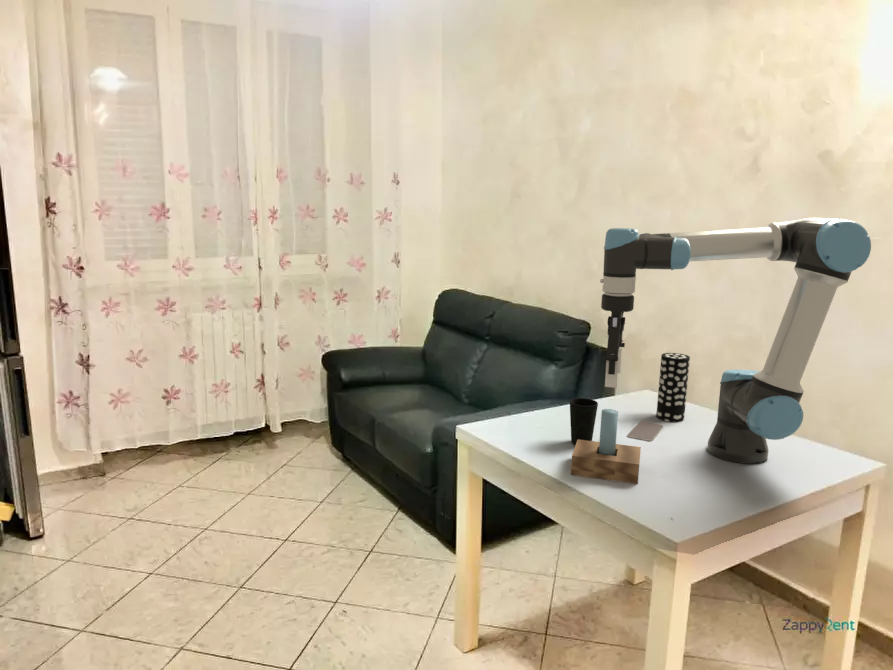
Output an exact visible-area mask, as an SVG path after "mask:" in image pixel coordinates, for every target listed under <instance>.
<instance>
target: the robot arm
mask: <svg viewBox="0 0 893 670" xmlns="http://www.w3.org/2000/svg"><path fill="white" fill-rule="evenodd" d="M603 250H604V251H603V253H604V255H603V273H602V275H603V276H602V278H601V279H600V281H599V282H600V284H602V290H601V291H602V292H603V293H602V294H601V302H600V303H601V304H600V307H601V309H602V310H603V311H605V312H611V315H610V316H608V317H607V322H606V323H607V335H608V336H607V349H606V355H604V356H603V361H606V363H605V377H604V378H605V379H604V388H614V389H615V388H616V389H617V388H618V374H621V368H622V367H621V366H622V350H623V348H625V345H626V343H625V342H624V341H623V333H624V331H625V329H624V328H625V324H626V316H624V313H627V312H628V313H629V312H632V311H634V307H635V296H634V295H633V294H634V293H635V292H636V280H637V270H671V271H673V270H683V269H686V268H687V266H688V265H689V263H690V262H704V261H722V260H723V261H725V260H742V259H743V260H744V259H762V258H766V259H767V260H769V261H771V262H777V261H783V262H792V263H795V265H794V268H793V270H794V271H795V273H796V275H797V279H796V282H795V284H794V287H793V290H792V292H791V295H790V297H789V299H788V303H787V305H786V309H785V311H784V313H783V316H782V319H781V321H780V322H779V323H780V324H779V326H778V329H777V332H776V335H775V337H774V339H773V342H772V345H771V346H770V350H769V353H768V355H767V358H766V360H765V363H764V366H763V368H762V370H752V369H729V370H728V369H727V370H725V371H723V372H722V375H721V379H720V383H719V385H720V387H719V396H718V405H717V406H718V407H717V408H718V409H717V418H716V419H717V420H716V423H715V425H714V428H713V430H712V431H711V434H710V436H709V438H708V440H707V446H706V447H707V451H708V452H709V453H710V454H711V455H712V456H715V457H717V458H719V459H722V460H725V461H729V462H734V463H740V464H741V463H742V464H757V463H756V462H760V463H763V462H762V461H764V460H766V459H767V460H768V456H769V446H768V441H767V440H772V441H779V440H783V439H785V438H788V437H790V436H792V435H793V434H795V433H796V432H797V431H798V430H799V428H800V427H801V425H802V423H803V422H804V421H803V420H804V410H803V408H802V406H801V404H800V402H801V399H802V397H803V395H804V392H805V391H804V389H803V387H802V385H801V381H802V378H803V375H804V373H805V370H806V368H807V366H808V363H809V360H810V357H811V355H812V352H813V350H814V348H815V345H816V343H817V340H818V337H819V335H820V332H821V330H822V329H823V325H824V322H825V320H826V317H827V315H828V312H829V310H830V306H831V305H832V302H833V299H834V297H835V294H836V293H837V292H836V291H837V289H838V288H840V287H841V286H843V285H845V284H847V283H848V281H849V279H850V277H851V275H852V272H854V271H856V270H857V269H859V268H861V267H862V266H863V265H865V263H866V262H867V261H868V258H869V257H870V254H871V251H872V240H871V237H870V235H869V234H868V231H867V230H866V229H865V227H863V225H861V224H860V223H858V222H857V221H854V220H849V219H846V218H840V217H839V218H838V217H837V218H834V217H833V218H832V217H831V218H830V217H825V218H824V217H807V218H801V219H795V220H789V221H779V222H769V224H768V225H766V226H765V227H748V228H747V227H746V228H736V229H735V228H734V229H716V230H700V231H698V230H697V231H696V230H695V231H682V232H681V231H680V232H668V233H665V232H664V233H663V232H662V233H648V232H647V233H646V232H645V233H640V234H639V230H638V229H637V228H628V227H627V228H624V227H622V228H621V227H617V228H616V227H614V228H613V227H612V228H609V229H607V231H606V233H605V240H604V247H603ZM767 460H766V461H767ZM764 462H765V461H764Z"/></svg>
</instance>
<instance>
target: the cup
mask: <svg viewBox="0 0 893 670" xmlns="http://www.w3.org/2000/svg"><path fill="white" fill-rule="evenodd" d="M598 406H599V403H598V401H596V400H594V399H592V398H588V397H587V398H584V397H576V398H575V397H574V398H572V399H570V400H569V414H570V415H569V416H570V417H569V419H570V421H569V422H570V443H571V445H573V446H575V445H576V443H577V440H578V439H579V440H587V441H593V437H594V431H595V424H596V419H597V418H596V417H597V413H598Z"/></svg>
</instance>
